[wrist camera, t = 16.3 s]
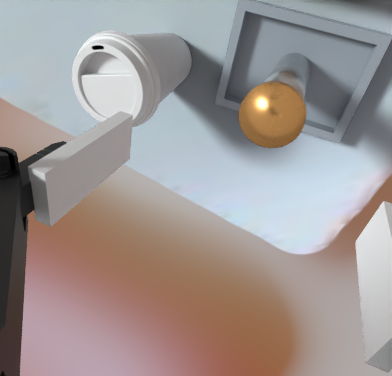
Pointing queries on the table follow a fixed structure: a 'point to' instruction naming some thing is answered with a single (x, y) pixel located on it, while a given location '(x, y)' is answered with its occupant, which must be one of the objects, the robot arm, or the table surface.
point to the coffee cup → (129, 73)
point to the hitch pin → (277, 104)
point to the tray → (313, 50)
